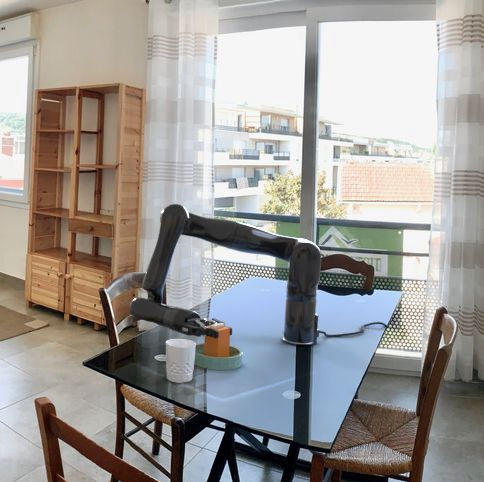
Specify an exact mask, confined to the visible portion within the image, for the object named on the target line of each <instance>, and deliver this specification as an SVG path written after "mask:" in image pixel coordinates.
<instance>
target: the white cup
mask: <svg viewBox="0 0 484 482" xmlns="http://www.w3.org/2000/svg"><path fill="white" fill-rule="evenodd" d="M196 344H197V343H196V342H195V341H193V340H190V339H186V338H170V339H167V340H166V341H165V368H166V379H167V380H168V381H169V382H171V383H176V384H184V383H186V382H191V381H192V380H193V378H194V377H193V376H194V368H195V365H194V361H195V350H196Z"/></svg>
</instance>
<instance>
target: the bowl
mask: <svg viewBox="0 0 484 482" xmlns="http://www.w3.org/2000/svg"><path fill="white" fill-rule="evenodd" d="M242 365H243V350H241V349H240V348H238V347H236V346H234V345H230V346H229V357H211V356H205V355H204V342H201V343H196V350H195V361H194V366H196V367H199V368H201V369H202V368H203V369H208V370H213V371H214V370H215V371H231V370H232V371H233V370H236V369H239V368H240V367H242Z"/></svg>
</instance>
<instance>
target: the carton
mask: <svg viewBox="0 0 484 482" xmlns="http://www.w3.org/2000/svg"><path fill="white" fill-rule="evenodd" d="M225 326H226V323H225V324H224V323H219V324H214V325H210V326H206V327H207V328H210V329H214V330H217V331H219V338H212V337H209V336H204V342H203V343H204V355H205V356H211V357H229V346H230V341H231V335H230V328H229V327H230V326H227V327H225Z"/></svg>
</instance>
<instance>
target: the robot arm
mask: <svg viewBox="0 0 484 482" xmlns="http://www.w3.org/2000/svg"><path fill="white" fill-rule="evenodd" d="M159 223H160V225H159V232H158V236H157V240H156V243H155V246H154V248H153V249H154V250H153V252H152V255H151V258H150V259H149V263H148V265H147V266H146V270H145V274H144V277H143V280H142V283H141V288H142V290H143V291H145V292H146V293H147V298H145V297H141V296H139V297H134V299H132V300H131V301H130V303H129V307H128V308H129V310H128V311H129V313H130V314H131V316H133V318H135V319H138V320H140V321H141V320H142V321H145V322H149V323H153V324H155V325H158V326H160V327H163V328H167V329H169V330H170V331H173V332H176V333H179V334H182V335H185V336H189V337H191V336H193V337H198V338H200V337H201V336H202V337H205V336H209V337H212V338H219V331H217V330H214V329H210V328H207V327H206V326H210V325H214V324H219V323H224V324H225V327H229V328H230V336H232V335H233V328H232V327H231V326H227V325H226V322H224V321H223V320H219V319H217V318H214V317H212V318H211V319H207V318H205V317H204V318H203V317H201V316H200V314H199V313H198V312H197V311H195V310H191V309H188V308H184V307H180V306H174V305H171V304H167V303H163V295H164V294H163V292H164V287H165V285H166V281H167V279H168V276H169V272H170V269H171V264H172V260H173V256H174V253H175V250H176V247H177V244H178V242H179V240H180V237H181V236H185V237H191V238H195V239H200V240H203V241H205V242H208V243H210V244H213V245H216V246H219V247H222V248H225V249H228V250H232V251H236V252H239V253H245V254H252V255H261V256H262V255H263V256H268V257H272V258H276V259H277V260H282V261H284V262H286V263H289V264H288V265H289V266H288V277H287V280H286V286H285V287H286V288H285V289H286V290H285V304H284V305H285V307H284V323H283V331H282V336H283V337H282V341H283V342H284V343H286V344H290V345H295V346H302V347H303V346H304V347H305V346H307V347H308V346H312V345H317V342H318V338H319V337H320V334H322V335H324V337H327V338H339V337H345V336H346V337H348V336H354V335H359V334H362V333H364V331H365V328H366V327H369V326H373V325H382V326H383V327H385V328H388V325H387V324H386V323H385V322H383V321H375V322H369V323H365V324H362V325H361V327H360V328H361V330H357V331H354V332H347V333H337V334H328V333H327V332H326V331H323V330H320V329H318V327H319V315H318V313H317V301H318V300H317V299H318V287H319V283H320V279H321V278H320V277H321V269H322V268H321V266H322V252H321V250H320V247H318V245H316V244H315V243H314V242H312V241H311V240H308V239H305V238H297V237H290V236H284V235H280V234H276V233H273V232H270V231H267V230H265V229H263V228H260V227H258V226H257V227H256V226H254V225H251V224H247V223H243V222H240V221H236V220H232V219H231V220H230V219H223V218H213V217H205V216H201V215H198V214H195V213H192V212H190V211H188V210H187V209H186V207H185V206H183V205H181V204H178V203H172V204H168V205H167V206H166V207H164V209H162V211H161V213H160V216H159Z"/></svg>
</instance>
